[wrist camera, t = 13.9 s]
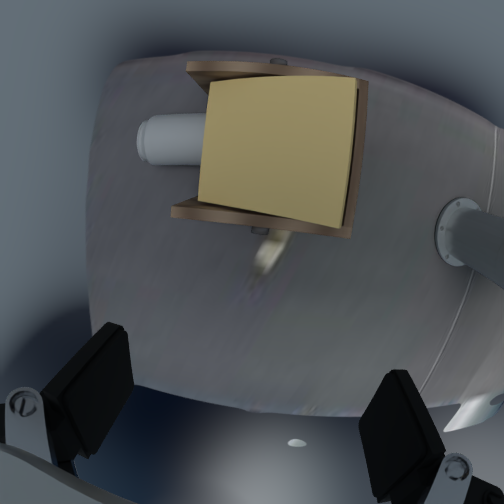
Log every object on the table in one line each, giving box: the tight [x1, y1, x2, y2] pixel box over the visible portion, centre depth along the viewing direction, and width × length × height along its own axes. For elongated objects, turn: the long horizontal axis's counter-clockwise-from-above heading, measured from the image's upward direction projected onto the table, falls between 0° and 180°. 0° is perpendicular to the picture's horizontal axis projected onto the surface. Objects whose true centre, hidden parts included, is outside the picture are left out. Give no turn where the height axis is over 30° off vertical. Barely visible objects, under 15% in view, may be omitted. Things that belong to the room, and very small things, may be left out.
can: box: [137, 113, 206, 165], centre depth 36 cm, size 8×8×12 cm
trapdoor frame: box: [171, 58, 368, 239], centre depth 33 cm, size 19×19×14 cm
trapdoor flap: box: [198, 76, 357, 229], centre depth 26 cm, size 16×14×1 cm
